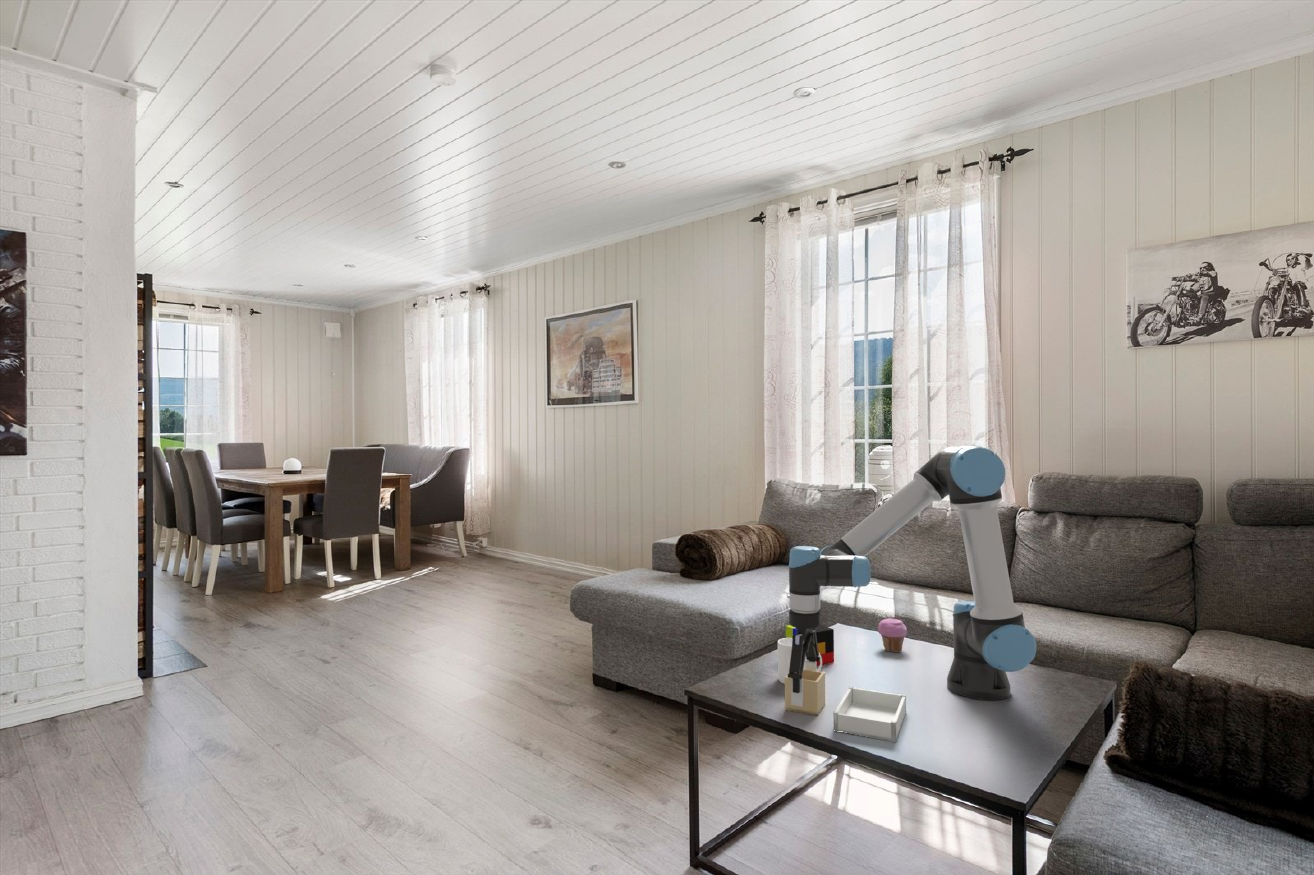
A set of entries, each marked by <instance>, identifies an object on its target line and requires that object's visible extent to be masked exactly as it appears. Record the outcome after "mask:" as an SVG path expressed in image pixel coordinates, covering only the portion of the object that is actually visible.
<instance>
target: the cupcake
mask: <svg viewBox="0 0 1314 875" xmlns="http://www.w3.org/2000/svg"><path fill="white" fill-rule="evenodd" d="M877 631H878V632H877V633H879V635H880V636H881V638H882V645H883V648H884V649H885V651H886V652H887V651H888V652H895V653H900V652H902V650H903V644H904V641H905V638H906V636H907V635H908V628H907V627H906V625H905V624H904V622H903V621H902V620H900V619H898V618H897V619H896V618H885V619H882V620H881V621H880V622H879V623H878V626H877Z"/></svg>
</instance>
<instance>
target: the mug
mask: <svg viewBox="0 0 1314 875" xmlns="http://www.w3.org/2000/svg"><path fill="white" fill-rule="evenodd" d="M791 651H792V638H786V637H783V638H779V639H778V640H777V678H778V681H779V682H780V683H782V684H783V685H785V677H786V676H787V674H788V673H789V668H790V659H791ZM818 657H820V662H821V663H820V666H818V667H817V671H820V672H821V669H822V666H823V665H822V657H821V655H820V653H819V656H818ZM806 661H809V660H807V658H806V656H805V662H804V668H803V669H806Z"/></svg>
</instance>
